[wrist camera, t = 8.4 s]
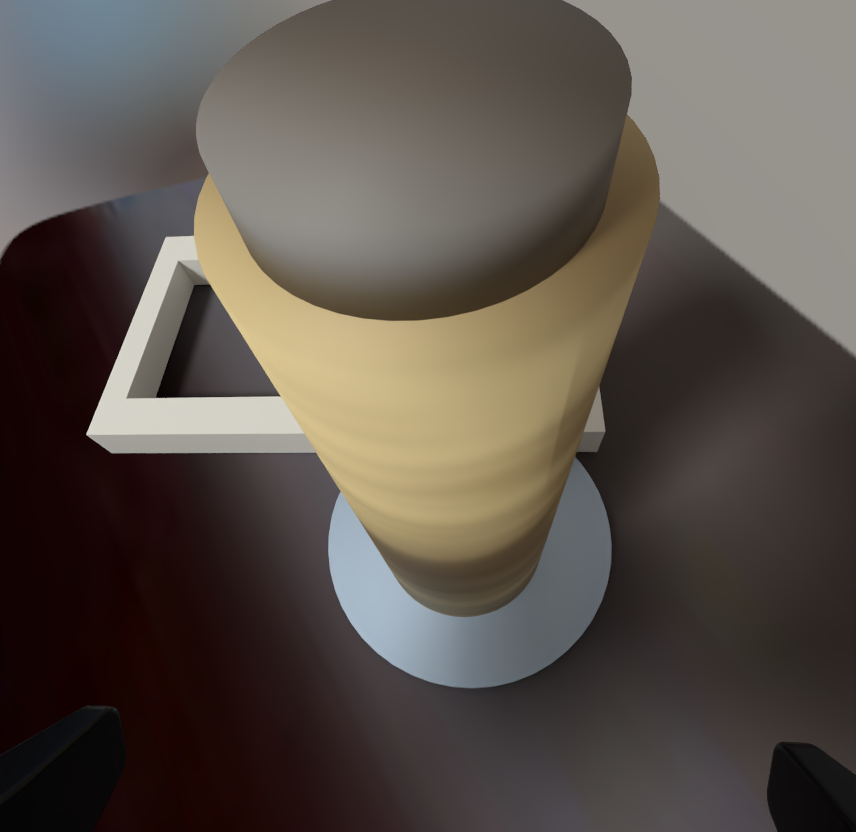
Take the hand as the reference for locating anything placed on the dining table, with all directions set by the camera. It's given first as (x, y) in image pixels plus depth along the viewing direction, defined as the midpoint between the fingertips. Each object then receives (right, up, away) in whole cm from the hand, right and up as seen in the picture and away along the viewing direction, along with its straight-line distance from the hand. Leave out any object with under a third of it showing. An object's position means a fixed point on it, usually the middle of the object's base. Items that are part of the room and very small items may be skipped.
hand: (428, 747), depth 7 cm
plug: (+1, +1, +10) cm, 10 cm away
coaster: (+1, +1, +10) cm, 10 cm away
